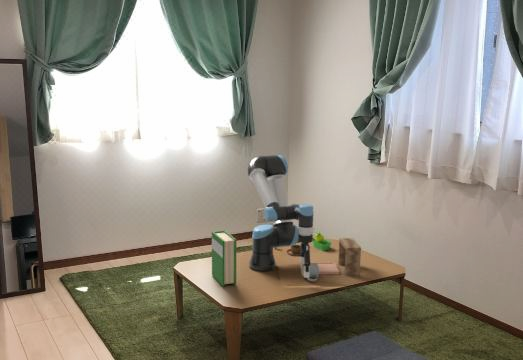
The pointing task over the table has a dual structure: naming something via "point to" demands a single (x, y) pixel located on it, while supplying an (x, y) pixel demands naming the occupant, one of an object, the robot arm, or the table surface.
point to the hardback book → (223, 257)
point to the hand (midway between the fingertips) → (304, 272)
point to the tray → (328, 268)
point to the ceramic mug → (311, 271)
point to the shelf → (349, 256)
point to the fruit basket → (321, 242)
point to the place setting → (294, 250)
